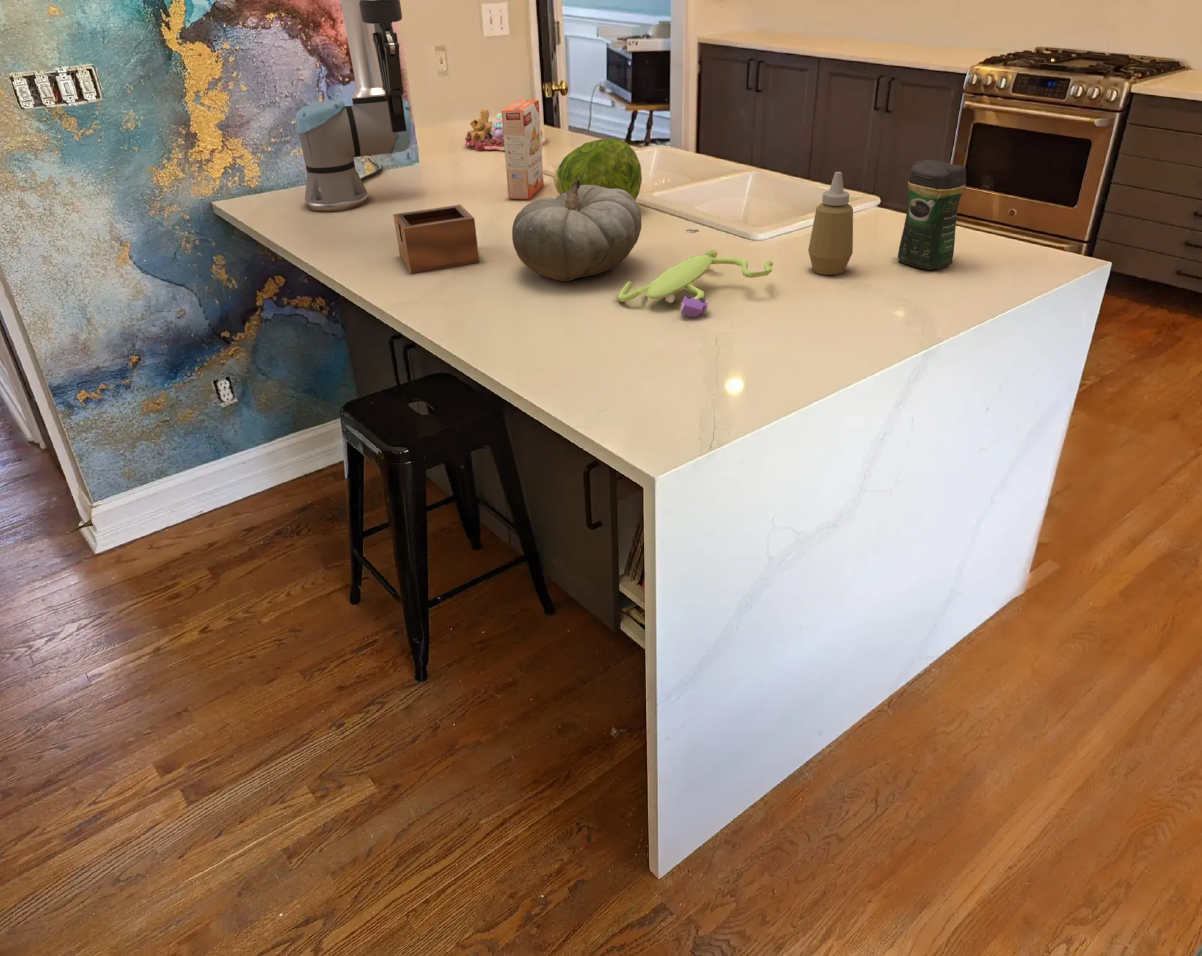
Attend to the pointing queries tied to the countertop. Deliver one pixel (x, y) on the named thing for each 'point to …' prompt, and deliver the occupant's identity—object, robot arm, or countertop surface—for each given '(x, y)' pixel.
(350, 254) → the countertop surface
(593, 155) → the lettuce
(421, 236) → the wooden storage crate
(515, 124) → the cracker box
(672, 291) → the figurine
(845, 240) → the squeeze bottle
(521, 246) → the gourd
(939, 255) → the coffee jar
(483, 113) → the coral reef ornament
